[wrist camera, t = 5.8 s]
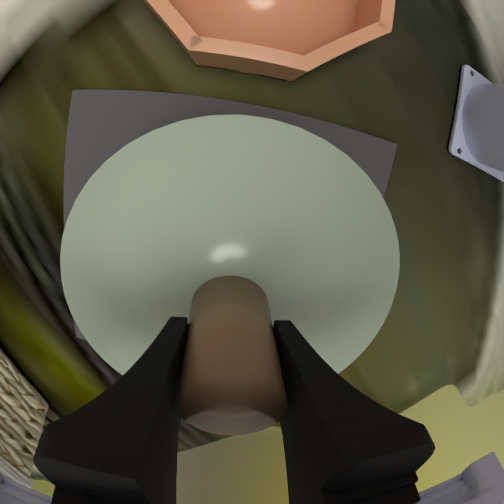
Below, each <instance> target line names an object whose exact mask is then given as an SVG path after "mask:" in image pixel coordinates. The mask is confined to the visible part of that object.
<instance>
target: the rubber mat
mask: <svg viewBox="0 0 504 504" xmlns="http://www.w3.org/2000/svg"><path fill="white" fill-rule="evenodd" d="M227 114H242V115H250V116H257V117H264V118H270V119H274V120H277V121H280V122H284V123H287V124H290V125H294V126H297V127H300V128H302V129H304V130H306V131H308V132H310V133H312V134H314V135H316V136H319V137H321V138H323V139H325V140H326V141H328V142H329V143H331V144H332V145H334V146H335V147H337V148H338V149H339V150H341V151H342V152H344V153H345V154H346V155H348V156H349V157H350V158H351V159H352V160H353V161H354V162H355V163H356V164H357V165H358V166H359V167H360V168H361V169H362V170H363V171H364V172H365V173H366V174H367V175H368V177H369V178H370V179H371V181H372V182H373V183H374V185H375V186H376V187H377V189H378V190H379V192H380V193H381V195H382V197H383V198H384V194H385V191H386V187H387V184H388V180H389V176H390V173H391V169H392V165H393V161H394V157H395V153H396V149H397V144H394V143H392V142H389V141H386V140H383V139H380V138H378V137H375V136H372V135H369V134H366V133H363V132H359V131H356V130H353V129H350V128H347V127H343V126H340V125H336V124H333V123H329V122H326V121H322V120H319V119H315V118H311V117H307V116H303V115H299V114H295V113H291V112H286V111H282V110H277V109H273V108H268V107H263V106H258V105H253V104H247V103H242V102H236V101H230V100H223V99H217V98H210V97H202V96H194V95H186V94H176V93H165V92H152V91H135V90H73V91H72V97H71V104H70V111H69V119H68V127H67V137H66V149H65V165H64V229H65V226H66V222H67V219H68V216H69V214H70V212H71V209H72V207H73V205H74V202H75V200H76V198H77V197H78V195H79V194H80V192H81V191H82V189H83V187H84V186H85V184H86V183H87V181H88V180H89V179H90V178H91V176H92V175H93V174H94V173H95V172H96V171H97V170H98V169H99V168H100V167H101V165H102V164H103V163H104V162H105V161H106V160H108V159H109V158H110V157H111V156H113V155H114V154H115V153H116V152H118V151H119V150H120V149H122V148H123V147H124V146H125V145H127V144H129V143H130V142H132V141H134V140H136V139H138V138H139V137H141V136H143V135H145V134H147V133H149V132H151V131H153V130H155V129H158V128H161V127H164V126H167V125H169V124H172V123H175V122H178V121H181V120H185V119H191V118H196V117H202V116H208V115H227ZM73 319H74V318H73ZM74 325H75V331H76V336H77V338H81V339H85V340H86V338H85V337H84V335H83V334H82V333H81V331H80V329H79V328H78V326H77V324H76V322H75V320H74Z"/></svg>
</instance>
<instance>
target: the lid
mask: <svg viewBox="0 0 504 504" xmlns="http://www.w3.org/2000/svg"><path fill="white" fill-rule="evenodd" d="M60 266H61V280H62V285H63V289H64V294H65V298H66V301H67V303H68V306H69V309H70V311H71V314H72V316H73V318H74V320H75V322H76V324H77V326H78V328H79V329H80V331H81V333H82V334H83V335H84V337H85V338H86V340H87V341H88V342H89V344H90V345H91V346H92V347H93V349H94V350H95V351H96V352H97V353H98V354H99V355H100V356H101V357H102V358H103V359H104V360H105V361H106V362H107V363H108V364H109V365H110V366H112V367H113V368H114V369H115V370H116V371H118V372H119V373H120V374H122V375H124V374H125V373H126V372H127V371H128V370H129V369H130V368H131V367H132V366H133V365H134V363H135V362H136V361H137V360H138V359H139V358H140V357H141V356H142V355H143V353H144V352H145V351H146V350H147V348H148V347H149V346H150V345H151V343H152V342H153V341H154V340H155V338H156V337H157V335H158V334H159V333H160V331H161V330H162V328H163V327H164V325H165V324H166V322H167V321H168V319H169V318H170V317H171V316H174V317H188V328H187V335H186V343H185V350H184V357H183V365H182V374H181V382H180V391H179V400H178V410H179V413H180V415H181V416H182V418H183V419H184V420H185V421H186V422H188V423H189V424H190V425H192V426H194V427H196V428H198V429H200V430H203V431H206V432H210V433H214V434H221V435H243V434H250V433H254V432H258V431H261V430H264V429H266V428H268V427H270V426H272V425H274V424H276V423H277V422H278V421H279V420H281V418H282V417H283V416H284V415H285V413H286V411H287V407H288V404H287V398H286V392H285V387H284V382H283V376H282V371H281V366H280V360H279V355H278V350H277V344H276V339H275V334H274V329H273V325H274V320H290V321H291V322H292V323H293V324H294V325H295V327H296V328H297V329H298V330H299V332H300V333H301V334H302V335H303V337H304V338H305V339H306V340H307V342H308V343H309V344H310V345H311V346H312V348H313V349H314V350H315V351H316V352H317V353H318V354H319V355H320V357H321V358H322V359H323V360H324V361H325V362H326V363H327V364H328V365H329V366H330V367H331V368H332V369H333V370H334V371H335V372H336V373H337V374H339V373H340V372H341V371H342V370H344V369H345V368H346V367H347V366H349V365H350V364H351V363H352V362H353V361H354V360H355V359H356V358H357V357H358V356H359V355H360V354H361V353H362V352H363V351H364V350H365V349H366V348H367V346H368V345H369V344H370V343H371V341H372V340H373V339H374V338H375V336H376V335H377V333H378V331H379V330H380V328H381V326H382V325H383V323H384V321H385V319H386V317H387V315H388V313H389V310H390V308H391V306H392V303H393V299H394V296H395V293H396V290H397V284H398V277H399V267H400V252H399V244H398V238H397V232H396V229H395V225H394V222H393V219H392V216H391V213H390V211H389V209H388V207H387V205H386V203H385V201H384V199H383V197H382V195H381V193H380V192H379V190H378V189H377V187H376V186H375V185H374V183H373V182H372V181H371V179H370V178H369V177H368V175H367V174H366V173H365V172H364V171H363V170H362V169H361V168H360V167H359V166H358V165H357V164H356V163H355V162H354V161H353V160H352V159H351V158H350V157H349V156H348V155H346V154H345V153H344V152H342V151H341V150H339V149H338V148H337V147H335V146H334V145H332V144H331V143H329V142H328V141H326V140H325V139H323V138H321V137H319V136H316V135H314V134H312V133H310V132H308V131H306V130H304V129H302V128H300V127H297V126H294V125H290V124H287V123H284V122H280V121H277V120H274V119H270V118H264V117H257V116H250V115H242V114H227V115H208V116H202V117H196V118H191V119H185V120H181V121H178V122H175V123H172V124H169V125H167V126H164V127H161V128H158V129H155V130H153V131H151V132H149V133H147V134H145V135H143V136H141V137H139V138H138V139H136V140H134V141H132V142H130V143H129V144H127V145H125V146H124V147H123V148H122V149H120V150H119V151H118V152H116V153H115V154H114V155H113V156H111V157H110V158H109V159H108V160H106V161H105V162H104V163H103V164H102V165H101V167H100V168H99V169H98V170H97V171H96V172H95V173H94V174H93V175H92V176H91V178H90V179H89V180H88V181H87V183H86V184H85V186H84V187H83V189H82V191H81V192H80V194H79V195H78V197H77V198H76V200H75V202H74V205H73V207H72V209H71V212H70V214H69V216H68V219H67V222H66V226H65V229H64V234H63V238H62V244H61V256H60Z"/></svg>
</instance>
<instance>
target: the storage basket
mask: <svg viewBox="0 0 504 504" xmlns="http://www.w3.org/2000/svg"><path fill="white" fill-rule="evenodd" d="M48 408H49V406H48V404H47V402H46V401H45V400H44V398H43V397H42V396H41V395H40V394H39V392H38V391H37V390H36V389H35V388H34V387H33V386H32V385H31V384H30V383H29V382H28V381H27V380H26V378H25V377H24V376H23V375H22V374H21V373H20V372H19V370H18V369H17V368H16V367H15V365H14V364H13V363H12V361H11V360H10V359H9V358H8V357H7V356H6V355H5V354H4V352H3V351H2V350H1V348H0V473H1V474H2V475H3V476H5V477H7V478H9V479H11V480H13V481H15V482H17V483H19V484H22V485H24V486H26V487H28V488H31V487H32V480H31V479H30V476H31V473H32V472H31V471H32V468H33V465H34V462H33V457H34V454H35V451H36V448H37V446H38V440H39V438H40V435H41V432H42V429H43V424H44V422H45V417H46V414H47V411H48ZM26 447H27V448H28V449H27V448H26Z"/></svg>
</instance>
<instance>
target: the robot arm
mask: <svg viewBox="0 0 504 504" xmlns="http://www.w3.org/2000/svg"><path fill="white" fill-rule="evenodd" d="M470 72H471V74H470ZM458 149H459V152H457V150H458ZM449 152H450V153H451V154H452V155H454V156H456V157H458V158H460V159H462V160H464V161H466V162H468V163H470V164H472V165H474V166H476V167H477V168H479V169H481V170H483V171H485V172H487V173H488V174H490V175H492V176H494V177H495V178H497V179H499V180H500V181H502V182H504V177H503V176H504V84H493V83H492V82H490V81H489V80H488V79H486V78H485V77H484V76H482V75H481V74H480V73H478V72H477V71H476V70H474V69H473V68H471V67H470V66H468V65H463V66H462V69H461V78H460V86H459V93H458V100H457V106H456V112H455V118H454V123H453V128H452V133H451V138H450V143H449ZM187 328H188V317H174V316H171V317H170V318H169V319H168V321H167V322H166V324H165V325H164V327H163V328H162V330H161V331H160V333H159V334H158V335H157V337H156V338H155V340H154V341H153V342H152V343H151V345H150V346H149V347H148V348H147V350H146V351H145V352H144V353H143V355H142V356H141V357H140V358H139V359H138V360H137V361H136V362H135V363H134V365H133V366H132V367H131V368H130V369H129V370H128V371H127V372H126V373H125V374H124V375H123V376H122V377H121V378H119V379H118V380H117V381H116V382H115V383H114V384H113V385H111V386H110V387H109V388H108V389H107V390H105V391H104V392H103V393H102V394H100V395H99V396H98V397H96V398H95V399H93V400H92V401H90V402H89V403H87V404H86V405H84V406H83V407H81V408H79V409H78V410H76V411H74V412H73V413H71V414H69V415H67V416H65V417H63V418H61V419H59V420H57V421H55V422H52V423H50V424H48V425H47V426H46V428H45V430H44V432H43V433H42V435H41V438H40V440H39V443H38V446H37V448H36V451H35V454H34V457H33V462H34V464H35V466H36V467H37V469H38V470H39V471H40V472H41V473H42V474H43V475H44V476H45V477H46V478H47V479H48V480H49V481H50V482H51V483H53V484H54V485H55V490H54V494H53V497H51V496H48V495H45V494H43V493H40V492H38V491H35V490H33V489H31V488H28V487H26V486H24V485H22V484H19V483H17V482H15V481H13V480H11V479H9V478H7V477H5V476H3V475H2V474H1V473H0V504H176V473H177V447H178V433H179V425H180V420H181V415H180V413H179V410H178V400H179V391H180V382H181V374H182V365H183V357H184V350H185V343H186V335H187ZM273 329H274V334H275V339H276V344H277V350H278V355H279V360H280V366H281V371H282V376H283V382H284V387H285V392H286V398H287V404H288V407H287V411H286V413H285V415H284V416H283V417H282V418H281V420H279V421H280V425H281V429H282V434H283V442H284V450H285V459H286V468H287V480H288V493H289V504H504V469H503V468H502V466H501V464H500V462H499V460H498V459H497V457H496V455H495V453H494V452H491V453H489V454H488V455H486V456H484V457H482V458H480V459H479V460H477V461H475V462H474V463H472V464H471V465H469V466H468V467H467V468H466V469H465V470H464V471H463V472H462V473H461V474H459V475H457V476H455V477H453V478H451V479H449V480H447V481H445V482H443V483H440V484H438V485H436V486H434V487H431V488H429V489H426V490H424V491H421V492H419V493H418V491H417V488H416V486H415V483H416V482H417V481H418V477H417V475H416V471H417V470H418V469H419V468H420V467H421V466H422V465H423V464H424V463H425V462H426V461H427V460H428V459H429V458H430V457H431V455H432V454H433V452H434V450H435V445H434V443H433V441H432V439H431V437H430V435H429V433H428V431H427V429H426V428H425V426H424V425H423V424H421V423H418V422H415V421H413V420H411V419H408V418H406V417H403V416H401V415H399V414H397V413H395V412H393V411H391V410H389V409H387V408H385V407H384V406H382V405H380V404H378V403H377V402H375V401H373V400H372V399H370V398H369V397H367V396H366V395H364V394H363V393H361V392H360V391H359V390H357V389H356V388H354V387H353V386H352V385H351V384H349V383H348V382H347V381H346V380H344V379H343V378H342V377H341V376H340V375H339V374H337V373H336V372H335V371H334V370H333V369H332V368H331V367H330V366H329V365H328V364H327V363H326V362H325V361H324V360H323V359H322V358H321V357H320V355H319V354H318V353H317V352H316V351H315V350H314V349H313V348H312V346H311V345H310V344H309V343H308V342H307V340H306V339H305V338H304V337H303V335H302V334H301V333H300V332H299V330H298V329H297V328H296V327H295V325H294V324H293V323H292V322H291V321H290V320H274V325H273Z"/></svg>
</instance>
